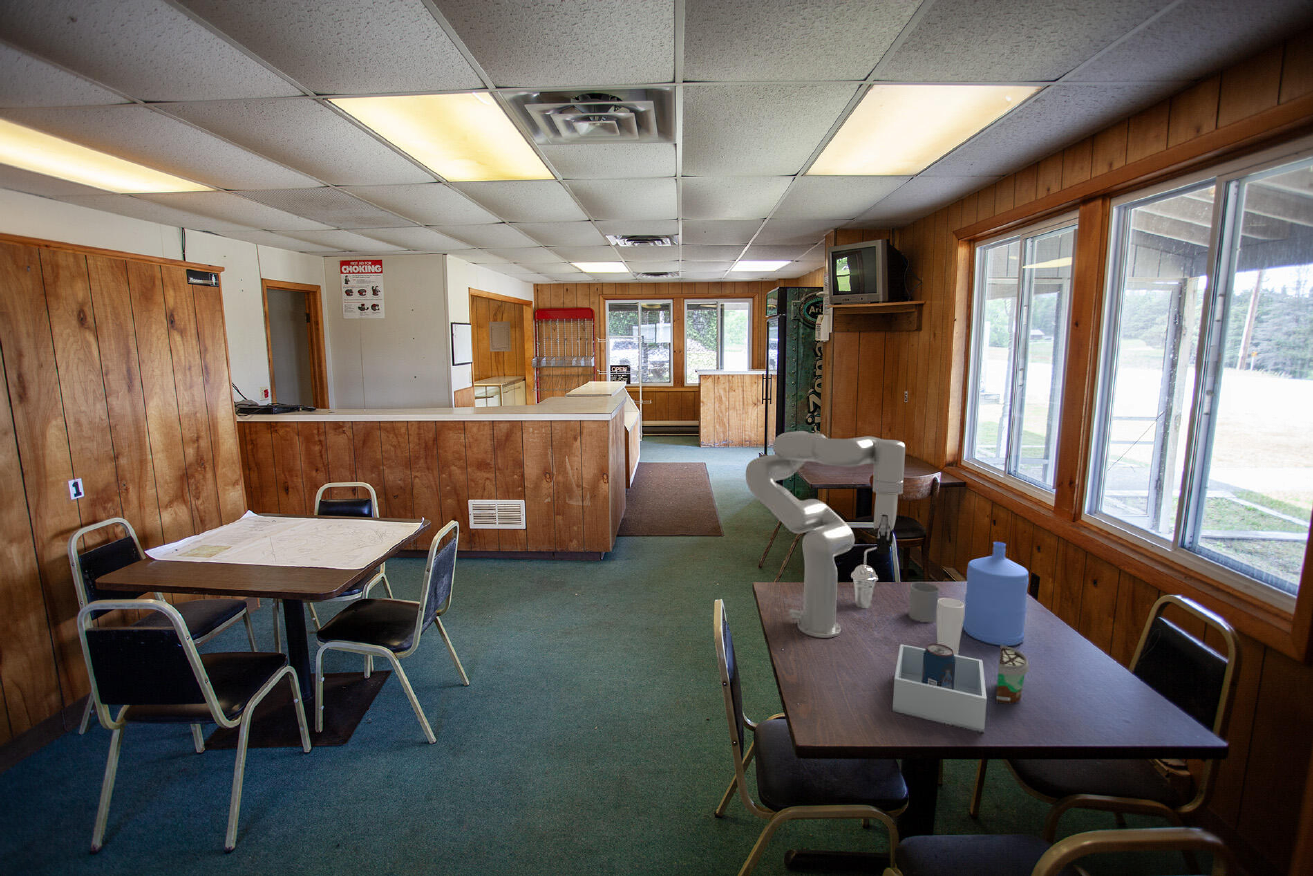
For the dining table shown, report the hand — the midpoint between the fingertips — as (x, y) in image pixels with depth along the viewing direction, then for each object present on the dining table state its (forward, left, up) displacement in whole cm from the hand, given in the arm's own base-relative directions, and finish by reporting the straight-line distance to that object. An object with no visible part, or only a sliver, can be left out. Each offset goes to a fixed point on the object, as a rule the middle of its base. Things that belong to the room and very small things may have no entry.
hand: (884, 548), depth 159 cm
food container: (+31, -8, -31) cm, 44 cm away
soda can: (+15, -18, -30) cm, 38 cm away
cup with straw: (-8, +32, -31) cm, 45 cm away
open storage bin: (+15, -18, -30) cm, 38 cm away
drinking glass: (+17, +8, -31) cm, 36 cm away
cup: (+10, +31, -31) cm, 45 cm away
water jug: (+29, +27, -31) cm, 50 cm away
